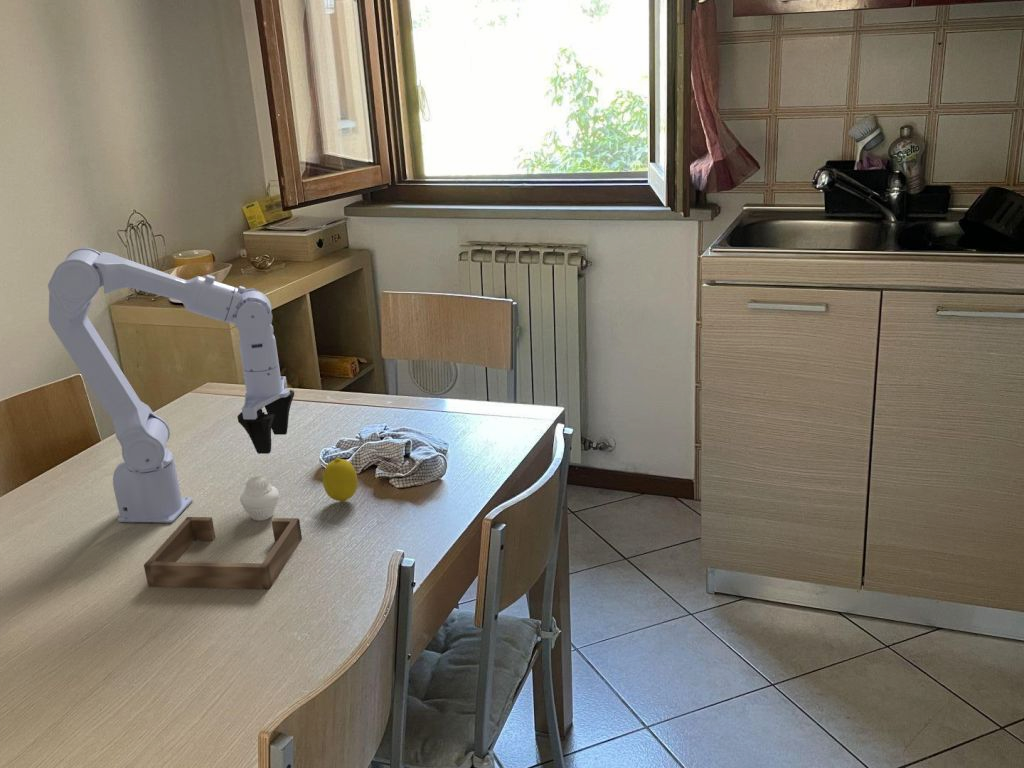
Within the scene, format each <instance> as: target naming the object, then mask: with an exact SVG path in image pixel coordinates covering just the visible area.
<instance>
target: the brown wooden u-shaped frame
mask: <svg viewBox="0 0 1024 768" xmlns="http://www.w3.org/2000/svg"><path fill="white" fill-rule="evenodd" d="M213 522H214V521H213V517H212V516H211V517H210V516H209V517H208V516H201V517H200V516H186V518H185V519H184V520H183V521H182V522H181V523H180V524H179V526H177V528H176V529H175V530H174V531H173V532H172V533H171V534H170V535H169V537H167V539H166V540H165V541H164V542H163V543H162V544H161V545H160V547H159V548H158V549H157V550H156V551H155V552H154V553H153V554H152V555H151V557H149V559H148V560H147V561H146V562H145V563H144V564H143V568H144V573H145V578H146V583H147V585H148V586H147V587H157V588H158V587H160V588H161V587H163V588H164V587H165V588H166V587H167V588H198V589H199V588H200V589H201V588H206V589H207V588H208V589H210V588H211V589H243V590H244V589H245V590H249V589H250V590H270V589H271V587H272V586H273V584H274V583H275V581H276V580H277V578H278V577H279V576H280V574H281V572H282V571H283V569H284V568H285V566H286V564H287V563H288V561H289V559H291V556H292V555H293V553H294V552H295V550H296V548H297V547H298V545H299V544H300V542H302V541H301V540H302V539H303V535H302V528H301V522H300V518H297V517H295V518H294V517H290V518H288V517H286V518H285V517H283V518H282V517H273V519H272V520H271V525H272V531H273V532H272V533H273V539H274V542H275V544H274V545H273V547H272V548H271V550H270V551H269V552H268V553H267V555H266V556H265V557H264V560H263V561H262V563H259V562H255V563H253V562H251V563H250V562H209V561H208V562H206V561H205V562H202V561H198V562H197V561H196V562H195V561H194V562H193V561H178V560H179V559H180V558H181V557H182V555H183V554H185V552H186V551H187V550H188V549H189V547H190V546H191V544H193V542H194V541H214V540H215V538H216V532H215V528H214V523H213Z"/></svg>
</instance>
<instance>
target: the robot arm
mask: <svg viewBox="0 0 1024 768" xmlns="http://www.w3.org/2000/svg"><path fill="white" fill-rule="evenodd" d="M215 279H216V277H215V276H214V275H211V274H206V276H205V277H204V276H199V275H197V276H195V277H192V278H191V279H187V280H186V279H183V278H181V277H178V276H175V275H174V274H173V275H172V274H169V273H167V272H164V271H161V270H158V269H157V268H153V267H150V266H147V265H145V264H142V263H139V262H137V261H133V260H130V259H128V258H125V257H122V256H120V255H117V254H114V253H112V252H106V251H101V252H100V251H98V250H96V249H94V248H90V247H80V248H77V249H74V250H72V251H71V252H69V253H68V255H67V256H66V258H65V259H64V261H62V262H61V263H59V264H58V265H57V267H55V269H54V271H53V274H52V275H51V278H50V280H49V282H48V284H47V289H48V292H49V293H48V294H49V295H48V297H49V298H48V323H49V325H50V327H51V328H52V330H53V332H54V333H55V335H56V337H57V338H58V339H59V340H60V342H61V344H62V345H63V347H64V349H65V350H66V352H67V353H68V354H69V356H70V357H71V359H72V361H73V363H74V364H75V365H76V367H77V369H78V370H79V371H80V373H81V375H82V376H83V378H84V380H85V381H86V382H87V384H88V386H89V387H90V388H91V389H92V391H93V393H94V395H95V396H96V397H97V399H98V400H99V402H100V404H101V405H102V407H103V408H104V410H105V411H106V413H107V414H108V415H109V418H110V419H111V421H112V423H113V424H112V425H113V429H114V434H115V437H116V439H117V440H118V442H119V445H120V447H121V456H122V460H123V461H122V462H119V463H118V464H117V466H116V467H115V469H114V472H113V477H112V487H113V491H114V496H115V501H116V505H117V510H118V514H119V517H118V518H117V521H118V523H170V524H171V523H173V522H174V521H175V520H176V519H177V518H178V517H179V516H180V515H181V514H182V513H183V511H184V510H186V508H188V506H189V505H190V504H191V503H192V502H193V500H194V499H193V497H183V496H182V493H181V488H180V487H181V486H180V484H179V483H180V482H179V478H178V473H177V468H176V462H175V457H174V454H173V453H172V451H170V450H169V448H168V447H167V443H168V441H169V439H170V435H171V431H170V427H169V425H168V423H167V422H166V421H165V420H164V419H163V418H162V417H160V416H158V415H156V414H155V413H154V412H153V410H152V409H151V407H150V406H149V405H148V404H146V403H145V402H143V401H142V400H141V399H140V398H139V396H138V395H137V393H136V391H135V390H134V388H133V387H132V385H131V384H130V382H129V380H128V379H127V377H126V376H125V374H124V372H123V371H122V369H121V368H120V366H119V365H118V363H117V361H116V360H115V358H114V357H113V355H112V354H111V351H110V350H109V349H108V347H107V346H106V344H105V342H104V341H103V338H102V337H101V336H100V334H99V333H98V331H97V329H96V328H95V327H94V325H93V323H92V322H91V320H90V318H89V312H90V309H91V307H92V303H93V301H94V297H95V296H96V294H97V293H98V291H99V289H100V288H101V287H103V293H104V294H108V293H109V294H110V293H112V292H116V291H118V290H121V289H124V288H130V289H133V290H138V291H141V292H145V293H150V294H153V295H157V296H160V297H161V296H162V297H165V298H169V299H173V300H176V301H180V302H181V303H182V304H183V306H184V308H185V309H186V311H187V312H190V313H193V314H197V315H199V316H203V317H206V318H210V319H213V320H216V321H219V322H223V323H227V324H231V323H232V324H234V326H235V328H236V329H237V330H238V336H239V340H238V347H239V354H240V359H241V366H242V372H243V379H244V380H243V381H244V385H245V391H246V392H245V396H244V403H243V406H242V408H241V412H240V413H239V414H238V415H237V418H236V419H237V421H238V423H239V424H240V425H241V427H243V428H244V430H245V431H246V433H247V435H248V437H249V438H250V440H251V443H252V445H253V447H254V449H255V452H256V453H257V454H259V455H260V454H261V455H263V454H266V455H269V454H270V453H271V452H272V433H273V435H279V436H280V435H281V436H282V435H284V436H285V435H287V434H288V428H289V417H290V410H291V405H292V402H293V399H294V397H295V391H294V390H292V389H288V383H287V377H286V376H281V370H280V369H281V368H280V362H279V356H278V348H277V340H276V337H275V334H274V326H273V325H272V323H273V317H274V316H273V313H272V304H271V301H270V299H269V298H268V297H267V295H266V294H264V293H263V292H262V291H260V290H258V289H256V288H248V289H247V288H246V287H244V286H242V285H239V286H238V287H236V286H231V285H229V284H225V283H222V282H219V281H216V280H215ZM263 408H265V411H266V413H265V411H264V410H263Z"/></svg>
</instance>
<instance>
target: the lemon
mask: <svg viewBox="0 0 1024 768" xmlns="http://www.w3.org/2000/svg"><path fill="white" fill-rule="evenodd" d="M322 476H323V477H322V483H323V484H322V485H323V488H324V490H325V492H326V494H327V496H328V497H329V498H330V499H332V500H334V501H339V502H340V503H341V504H343V503H345V502H346V501H347V500H349V499H351V498H352V497H353V496H354V495H355V493H356V491H357V489H358V475H357V472H356V469H355V467H354V465H353V464H352V463H351V462H350V461H348V460H347V459H344V458H343V459H342V458H340V457H336V458H335V459H333V460H332V461H330V462H329V463H327V465H326V467H325V468H324V471H323V474H322Z"/></svg>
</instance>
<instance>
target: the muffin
mask: <svg viewBox="0 0 1024 768" xmlns="http://www.w3.org/2000/svg"><path fill="white" fill-rule="evenodd" d="M239 497H240V498H239V502H240V504H241V506H242V508H243V510H244V511H245V512H246V513H247V514H248V515H249V516H250V517H251V519H252V520H254V521H259V522H260V521H261V522H262V521H266V520H268V519H271V517H272V516H273V514H274V513H275V510H276V508H277V505H278V503H279V498H280V494H279V490H278V489H277V488H276V486H273V485H272V484H271V483H270V482H269V480H268V479H267V478H266V477H264V476H254V477H251V478H250V479H249V480H248V481H247V482H246V484H245V488H244V490H243V492H242V493H241V494H240V496H239Z"/></svg>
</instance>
